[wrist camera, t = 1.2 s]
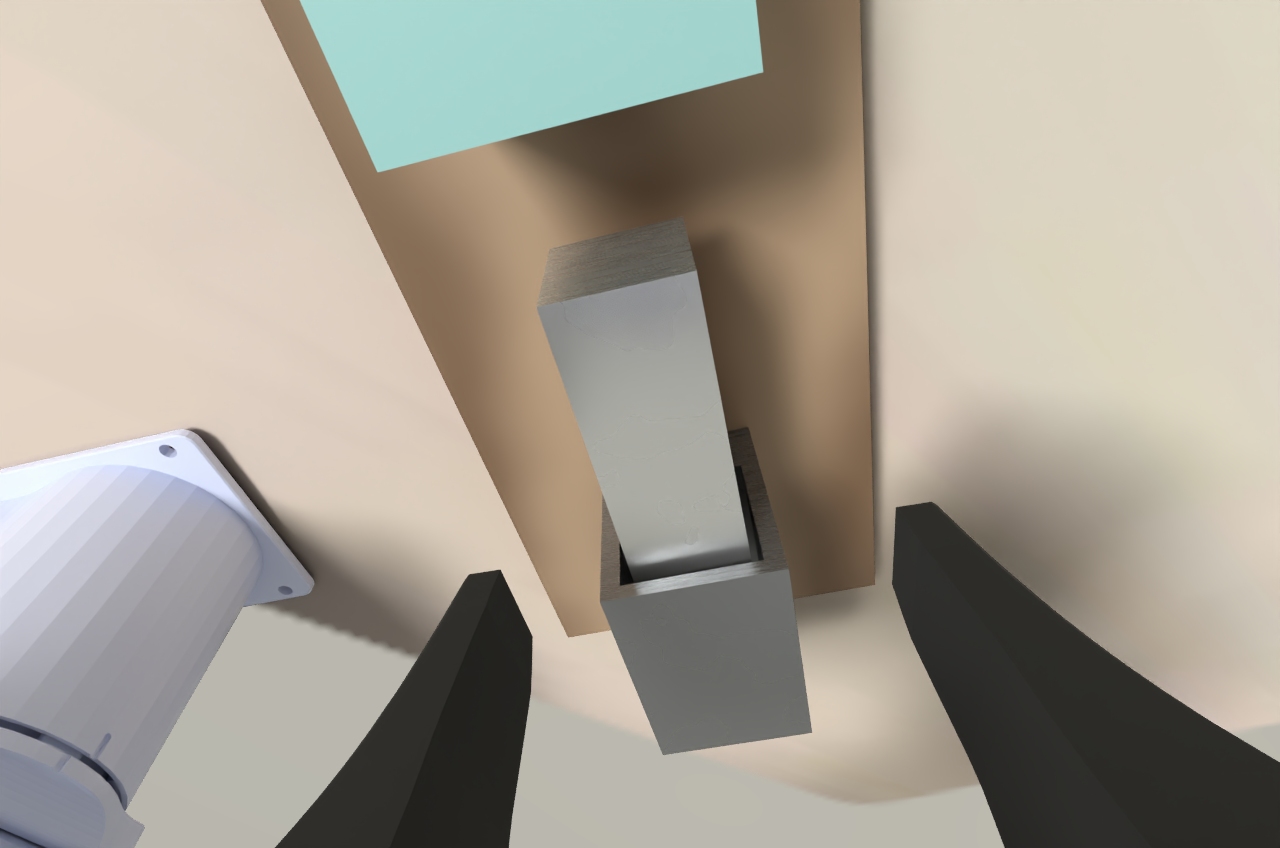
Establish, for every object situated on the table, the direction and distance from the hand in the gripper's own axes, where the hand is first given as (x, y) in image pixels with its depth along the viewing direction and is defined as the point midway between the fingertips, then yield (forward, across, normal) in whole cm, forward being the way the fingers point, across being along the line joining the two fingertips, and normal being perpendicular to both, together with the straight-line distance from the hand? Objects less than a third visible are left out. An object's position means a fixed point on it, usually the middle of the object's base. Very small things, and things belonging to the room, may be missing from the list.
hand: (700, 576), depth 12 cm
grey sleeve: (+8, 0, +7) cm, 10 cm away
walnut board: (+9, 0, 0) cm, 9 cm away
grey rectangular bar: (+6, 0, +2) cm, 6 cm away
